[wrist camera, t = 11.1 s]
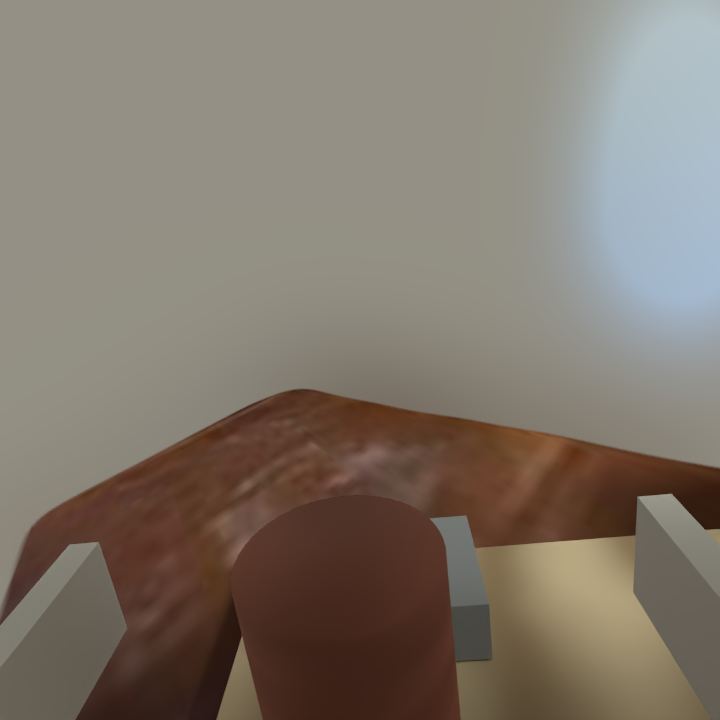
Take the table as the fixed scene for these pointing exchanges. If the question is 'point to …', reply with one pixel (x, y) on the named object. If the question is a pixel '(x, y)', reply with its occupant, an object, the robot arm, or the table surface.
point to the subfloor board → (553, 642)
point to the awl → (348, 613)
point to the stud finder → (466, 591)
